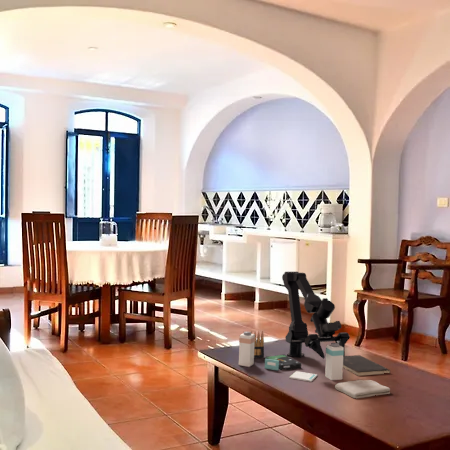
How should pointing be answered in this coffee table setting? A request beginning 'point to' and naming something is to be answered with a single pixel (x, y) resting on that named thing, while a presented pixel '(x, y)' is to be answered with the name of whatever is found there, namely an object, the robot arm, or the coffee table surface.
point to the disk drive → (285, 362)
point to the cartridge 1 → (246, 349)
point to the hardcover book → (362, 366)
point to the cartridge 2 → (334, 361)
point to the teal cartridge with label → (271, 364)
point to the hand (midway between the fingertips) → (333, 357)
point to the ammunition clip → (258, 345)
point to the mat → (303, 376)
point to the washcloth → (362, 388)
